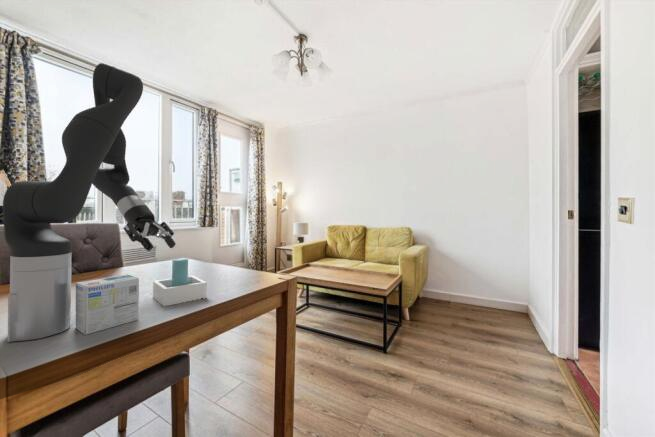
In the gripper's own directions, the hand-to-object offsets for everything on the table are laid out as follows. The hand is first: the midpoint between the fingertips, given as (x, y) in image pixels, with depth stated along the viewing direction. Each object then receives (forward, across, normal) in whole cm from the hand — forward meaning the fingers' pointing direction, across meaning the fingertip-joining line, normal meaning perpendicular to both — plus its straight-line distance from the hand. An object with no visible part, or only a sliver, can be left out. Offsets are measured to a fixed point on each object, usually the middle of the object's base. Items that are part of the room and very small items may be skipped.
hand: (162, 247), depth 87 cm
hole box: (+16, 0, +6) cm, 17 cm away
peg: (+16, 0, +6) cm, 17 cm away
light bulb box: (+16, -22, +6) cm, 28 cm away
